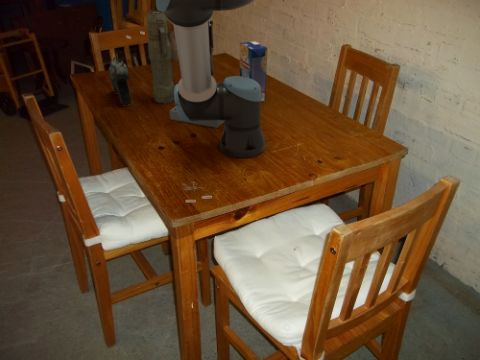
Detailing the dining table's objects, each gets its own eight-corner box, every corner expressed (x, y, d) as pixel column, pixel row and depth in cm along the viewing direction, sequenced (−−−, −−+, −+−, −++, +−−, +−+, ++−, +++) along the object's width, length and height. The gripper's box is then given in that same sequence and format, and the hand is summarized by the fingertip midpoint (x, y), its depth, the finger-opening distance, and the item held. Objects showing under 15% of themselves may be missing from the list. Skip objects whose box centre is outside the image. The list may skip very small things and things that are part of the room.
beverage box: (253, 91, 183) (254, 41, 171) (265, 100, 175) (267, 47, 163) (239, 94, 181) (239, 42, 169) (251, 103, 172) (251, 49, 160)
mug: (216, 76, 154) (215, 43, 148) (203, 79, 152) (202, 45, 145) (205, 70, 160) (204, 38, 153) (192, 73, 157) (190, 40, 150)
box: (217, 128, 153) (217, 119, 151) (170, 119, 159) (169, 110, 157) (238, 108, 168) (238, 99, 166) (194, 100, 174) (194, 92, 172)
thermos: (162, 106, 169) (152, 16, 150) (148, 98, 177) (137, 11, 158) (181, 101, 174) (174, 13, 154) (167, 93, 181) (158, 8, 162)
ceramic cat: (134, 106, 169) (127, 57, 158) (118, 109, 167) (110, 59, 156) (124, 90, 184) (117, 44, 174) (109, 92, 182) (101, 46, 171)
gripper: (197, 11, 133) (201, 81, 146) (221, 1, 148) (223, 65, 160) (177, 9, 136) (182, 78, 148) (203, 0, 150) (205, 63, 163)
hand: (203, 71), depth 154 cm, fingers closed on mug, 5 cm apart
